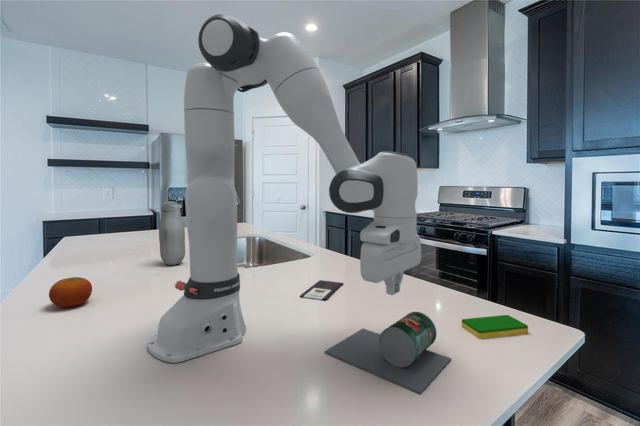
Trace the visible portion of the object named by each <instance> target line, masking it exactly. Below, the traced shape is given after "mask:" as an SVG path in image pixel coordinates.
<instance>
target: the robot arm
mask: <svg viewBox="0 0 640 426" xmlns="http://www.w3.org/2000/svg"><path fill="white" fill-rule="evenodd" d="M197 41H198V47H199V50H200V53H201V55H202V57H203V58H204V60H205V62H199V63H198V62H197V63H195V64H192V65H191V66H190V67H189V69H188V70H187V71H186V72H187V73H186V79H185V84H184V95H183V115H184V119H183V120H184V145H185V155H186V164H187V178H188V185H187V187H186V189H185V194H184V204H185V219H186V228H187V237H188V248H189V269H190V270H189V272H190V276H189V278H188V280H187V282H183V281H182V280H177V281H176V282H175V283H174V288H175V290H179V291H183V295H182V296H181V297H180V298H179V299H178V300H177V301H176V302H175V303H174V304H173V305H172V306H171V307H170V308H169V309H168V310H167V311H165V313H164V314H162V316H161V317H160V319H159V322H158V328H157V334H156V335H154V336H152V337H150V338H148V340H147V343H146V349H147V351H148V352H149V354H151V355H152V356H153V357H155V358H156V359H158V360H161V361H163V362H166V363H171V364H173V363H174V364H176V363H177V364H178V363H182V362H185V361H189V360H190V359H194V358H199V357H200V356H204V355H207V354H209V353H213V352H216V351H218V350H222V349H225V348H228V347H232V346H234V345H238V344H240V343H242V341H243V334H245V332H246V330H247V326H246V324H245V323H246V322H245V321H244V317H243V312H242V308H241V301H240V289H241V279H240V278H241V277H240V276H241V275H240V273H239V271H238V270H239V269H238V266H239V265H238V264H239V263H238V194H237V190H236V188H235V187H236V186H235V185H236V184H235V179H236V178H235V164H236V163H235V154H236V153H235V152H236V149H235V148H236V147H235V113H234V111H235V110H234V109H235V108H234V107H235V105H234V100H235V99H234V97H235V94H236V92H237V91H238V92H240V93H245V92H248V91H251V90H252V89H257V88H261V87H265V86H266V85H267V84H268V85H269V87H270V88H271V91H272V92H273V95H274V97H275V98H276V101H277V102H278V104H279V106H280V107H281V109H282V110H283V112H284V113H285V114H286V115H287V117H288V118H289V119H290V121H291V122H292V123H293V124H294V125H295V126H297V127H298V128H299V129H300V130H302V131H303V132H305V133H306V134H308V135H309V136H310V137H311V138H312V139H313V140H314V141H315V142H316V143H317V144H318V145H319V147H320V148H321V149H322V151H323V153H324V155H325V157H326V158H327V160H328V162H329V164H330V165H331V168H332V169H333V171H334V173H335V175H334V176H333V177H332V179H331V181H330V184H329V188H328V194H329V199H330V201H331V203H332V204H333V206H334V207H335V208H337V210H339V211H341V212H344V213H346V214H358V213H361V212H365V211H373V220H372V221H371V222H370V223H369V224H368V225H367V226H366V227H364V228H363V229H361V231H360V234H359V239H360V241H361V242H363V243H362V245H361V247H360V262H359V263H360V275H361V278H362V280H364V281H366V282H368V283H369V282H370V283H374V284H378V283H379V284H380V282H384V284H385V291H386V294H387V295H389V296H394V295H395V294H398V293H400V291H401V284H402V281H403V278H404V273H405V271H408V270H411V269H413V268H416V267H417V266H419V265H420V264H421V261H422V243H421V242H422V241H421V236H420V235H419V234H418V230H417V223H418V221H417V220H418V219H417V218H418V217H417V216H418V214H417V209H416V201H417V198H418V186H419V185H418V184H419V183H418V180H419V179H418V169H417V164H416V161H415V160H414V158H413V157H411V156H410V155H408V154H407V153H406V154H405V153H404V152H403V153H401V152H397V151H388V150H387V151H386V150H385V151H384V150H383V151H380V152H378V153H377V154H376V155H375V156H373V157H372V158H370V159H368V160H367V161H364V162H362V163H361V161H360V160H359V159H358V157H357V155H356V153H355V151H354V150H353V147H352V145H351V144H350V142H349V141H348V138H347V136H346V135H345V133H344V131H343V129H342V126H341V123H340V121H339V118H338V115H337V113H336V109H335V106H334V105H335V104H334V103H333V99H332V96H331V93H330V90H329V88H328V86H327V83H326V81H325V79H324V76H323V75H322V73H321V71H320V69H319V67H318V65H317V63H316V62H315V60H314V58H313V57H312V55H311V54H310V52H309V51H308V49H307V48H306V47H305V45H304V44H303V43H302V42H301V40H299V38H298V37H297V36H296V35H294V34H293V33H290V32H286V31H282V32H277V33H276V34H273V35H272V36H269V37H268V38H262V37H260V36H259V32H258V31H257V30H256V29H255V28H253V27H251V26H249V24H246V23H244V22H243V21H241V20H240V19H238V18H236V17H233V16H231V15H227V14H215V15H213V16H210V17H208V19H206V20H205V21H204V23H203V24H201V27H200V29H199V32H198V39H197Z"/></svg>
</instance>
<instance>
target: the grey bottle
mask: <svg viewBox="0 0 640 426" xmlns="http://www.w3.org/2000/svg"><path fill="white" fill-rule="evenodd" d="M160 210H161V211H160V212H161V213H160V220H159V224H158V225H159V226H158V238H159V239H158V242H159V253H160V258H161V261H162V262H163V263H164V264H166V265H167V266H174V265H178V264H179V265H180V263H181V262H182V261H183V260H184V259H185V256H186V232H185V229H186V228H185V225H184V222H183V221H184V220H183V218H182V213H181V207H180V204H179V203H178V202H176V201H173V200H169V201H165V202H164V203H163V204H162V205H161V207H160Z"/></svg>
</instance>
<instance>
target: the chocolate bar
mask: <svg viewBox="0 0 640 426" xmlns="http://www.w3.org/2000/svg"><path fill="white" fill-rule="evenodd" d="M343 285H344V282H340V281H339V282H338V281H330V280H321V279H320V280H318V281H317V282H316V283H314V284H313V285H312V286H310V287H309V288H308V289H307V290H305V291H304V292H303V293H302V294H300V295H299V298H302V299H309V300H317V301H323V302H324V301H325V302H326V301H328V300H329V299H330V298H331V297H332V296H333V295H335V293H336V292H337V291H338V290H339V289H340V288H342V286H343Z"/></svg>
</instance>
